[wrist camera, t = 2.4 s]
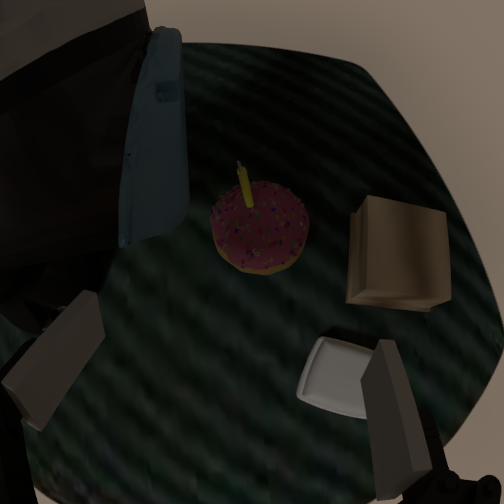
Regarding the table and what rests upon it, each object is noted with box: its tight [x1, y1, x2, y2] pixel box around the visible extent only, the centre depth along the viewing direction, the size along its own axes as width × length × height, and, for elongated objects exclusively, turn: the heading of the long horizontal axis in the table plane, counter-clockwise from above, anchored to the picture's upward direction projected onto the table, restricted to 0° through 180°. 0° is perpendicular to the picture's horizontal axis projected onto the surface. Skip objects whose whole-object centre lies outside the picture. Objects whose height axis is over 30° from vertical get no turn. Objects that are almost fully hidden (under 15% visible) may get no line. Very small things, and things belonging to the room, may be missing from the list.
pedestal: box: [346, 195, 451, 312], centre depth 28 cm, size 10×10×5 cm
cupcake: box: [210, 161, 309, 275], centre depth 25 cm, size 9×8×12 cm
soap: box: [296, 336, 374, 419], centre depth 25 cm, size 9×7×3 cm
